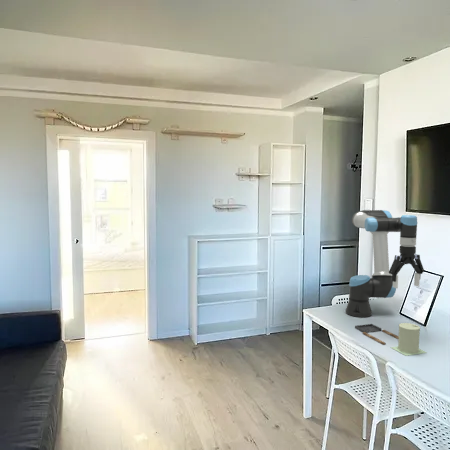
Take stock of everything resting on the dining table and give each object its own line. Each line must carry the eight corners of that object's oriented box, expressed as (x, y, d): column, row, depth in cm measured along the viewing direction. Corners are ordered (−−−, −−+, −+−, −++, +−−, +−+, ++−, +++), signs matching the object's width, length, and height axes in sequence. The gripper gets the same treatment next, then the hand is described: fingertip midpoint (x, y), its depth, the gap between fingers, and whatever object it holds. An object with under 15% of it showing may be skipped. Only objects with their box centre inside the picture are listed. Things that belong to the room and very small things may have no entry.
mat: (390, 347, 192) (390, 347, 192) (410, 344, 195) (410, 344, 195) (405, 355, 182) (405, 355, 182) (426, 352, 186) (426, 352, 186)
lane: (362, 333, 210) (362, 332, 210) (384, 331, 215) (384, 329, 215) (383, 344, 195) (383, 343, 195) (406, 341, 199) (406, 340, 199)
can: (423, 353, 185) (424, 328, 183) (403, 353, 184) (405, 328, 183) (412, 345, 194) (413, 321, 193) (394, 346, 193) (395, 322, 192)
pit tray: (354, 328, 219) (355, 325, 219) (371, 326, 222) (371, 323, 222) (364, 333, 211) (364, 330, 211) (381, 331, 215) (381, 328, 214)
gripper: (392, 247, 194) (391, 290, 195) (433, 245, 201) (431, 286, 203) (382, 245, 201) (380, 286, 203) (421, 243, 208) (419, 283, 210)
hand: (406, 286), depth 203 cm, fingers open, 13 cm apart
